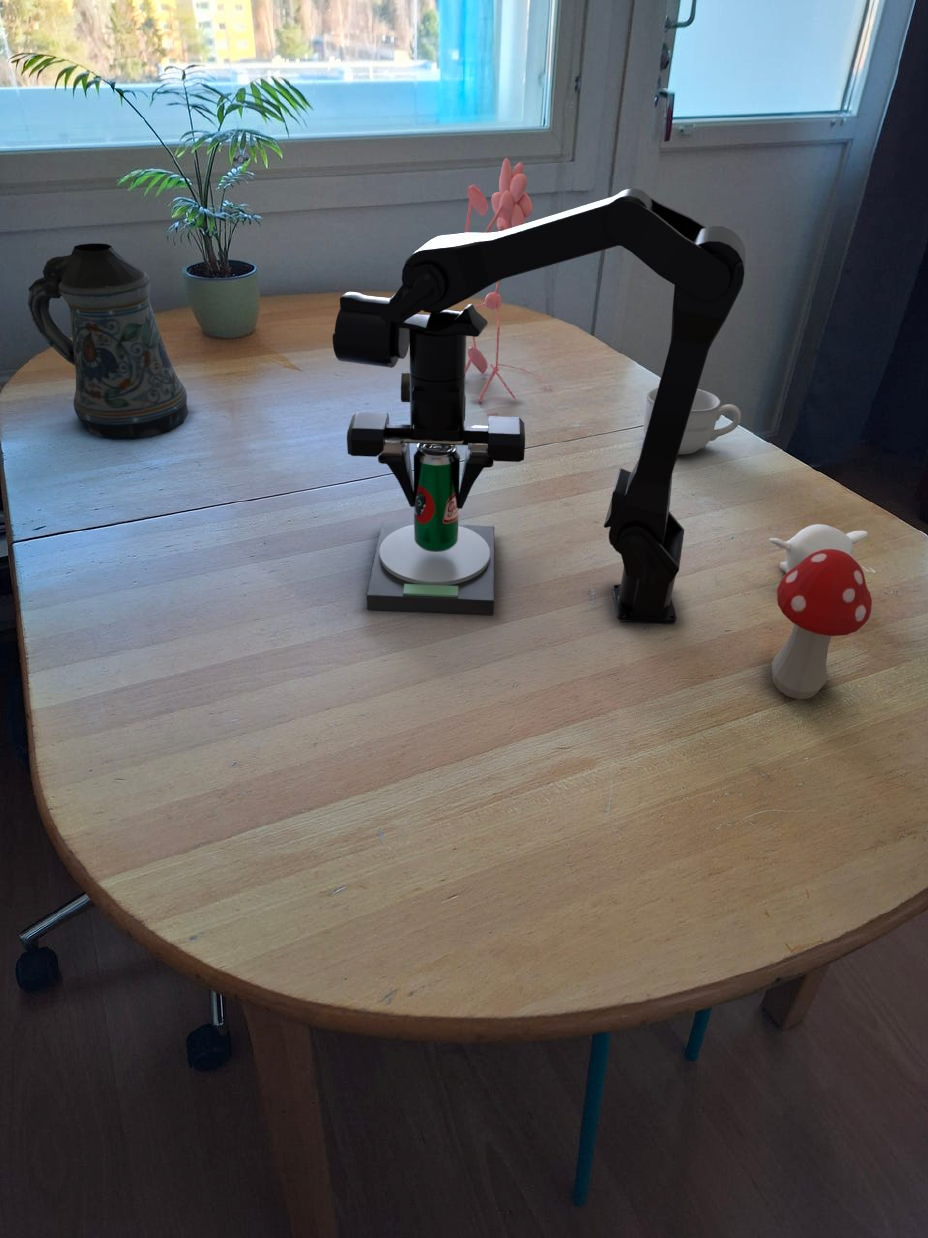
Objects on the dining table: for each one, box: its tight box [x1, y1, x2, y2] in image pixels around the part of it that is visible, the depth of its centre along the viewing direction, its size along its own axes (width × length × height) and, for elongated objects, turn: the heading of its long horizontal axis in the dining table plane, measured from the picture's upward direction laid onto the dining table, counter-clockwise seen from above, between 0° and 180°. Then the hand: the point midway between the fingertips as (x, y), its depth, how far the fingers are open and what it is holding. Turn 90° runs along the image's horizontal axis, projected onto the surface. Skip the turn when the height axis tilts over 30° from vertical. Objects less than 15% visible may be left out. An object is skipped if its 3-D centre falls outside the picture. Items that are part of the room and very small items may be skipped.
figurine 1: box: [464, 157, 550, 416], centre depth 139 cm, size 15×26×35 cm, turn 21°
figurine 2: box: [768, 523, 876, 574], centre depth 101 cm, size 12×8×10 cm
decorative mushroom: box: [771, 549, 873, 700], centre depth 85 cm, size 10×9×15 cm
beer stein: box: [27, 242, 189, 440], centre depth 127 cm, size 16×19×25 cm
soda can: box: [413, 444, 461, 552], centre depth 98 cm, size 5×5×12 cm
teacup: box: [643, 387, 742, 455], centre depth 130 cm, size 14×11×8 cm
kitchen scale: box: [366, 521, 495, 616], centre depth 102 cm, size 16×14×3 cm
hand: (436, 506), depth 99 cm, fingers closed on soda can, 5 cm apart
